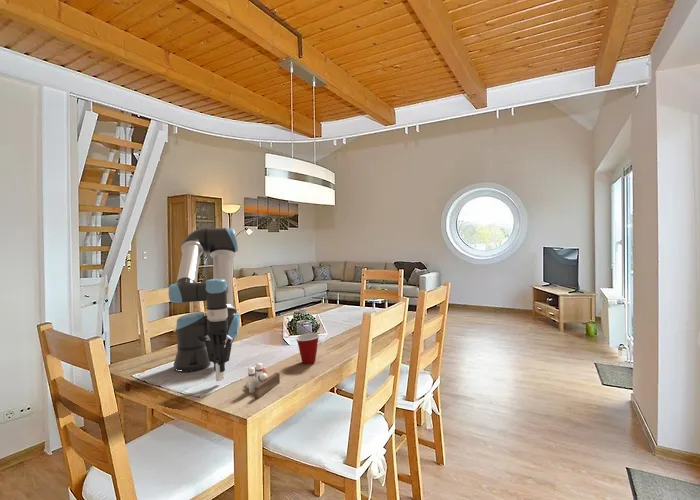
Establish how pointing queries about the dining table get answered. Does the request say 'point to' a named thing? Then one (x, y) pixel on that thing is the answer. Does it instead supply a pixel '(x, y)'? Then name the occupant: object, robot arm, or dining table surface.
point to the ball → (263, 371)
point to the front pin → (258, 379)
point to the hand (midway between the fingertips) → (219, 379)
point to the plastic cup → (308, 347)
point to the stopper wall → (267, 385)
